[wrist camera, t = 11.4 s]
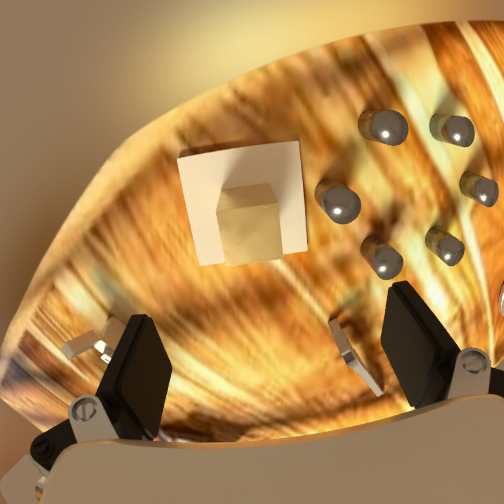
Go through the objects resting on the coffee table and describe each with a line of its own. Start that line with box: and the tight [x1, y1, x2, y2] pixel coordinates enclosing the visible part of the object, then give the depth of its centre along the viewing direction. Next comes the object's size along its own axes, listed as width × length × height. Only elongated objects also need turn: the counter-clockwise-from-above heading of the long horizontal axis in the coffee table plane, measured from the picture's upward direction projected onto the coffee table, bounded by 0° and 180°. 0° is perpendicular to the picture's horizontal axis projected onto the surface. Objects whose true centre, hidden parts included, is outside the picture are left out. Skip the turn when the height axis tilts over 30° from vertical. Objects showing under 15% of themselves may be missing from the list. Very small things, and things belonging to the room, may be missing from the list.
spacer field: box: [315, 110, 499, 280], centre depth 23 cm, size 20×15×4 cm
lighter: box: [61, 316, 126, 364], centre depth 27 cm, size 7×2×8 cm, turn 41°
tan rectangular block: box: [216, 183, 284, 266], centre depth 22 cm, size 4×4×6 cm
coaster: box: [177, 140, 307, 266], centre depth 25 cm, size 10×10×1 cm
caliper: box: [328, 318, 383, 396], centre depth 33 cm, size 20×1×6 cm, turn 35°
